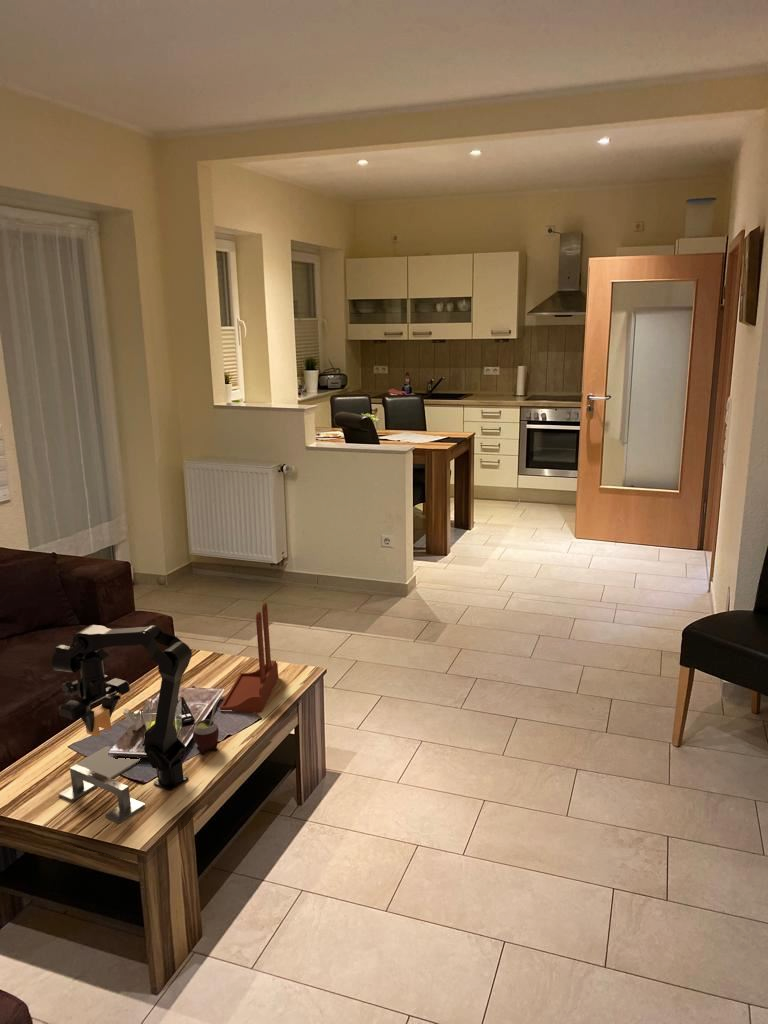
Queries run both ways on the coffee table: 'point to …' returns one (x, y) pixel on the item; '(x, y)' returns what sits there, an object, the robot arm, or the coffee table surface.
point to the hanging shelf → (254, 676)
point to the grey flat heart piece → (132, 717)
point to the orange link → (100, 720)
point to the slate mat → (106, 763)
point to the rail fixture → (89, 780)
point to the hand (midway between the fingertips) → (98, 727)
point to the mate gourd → (206, 734)
